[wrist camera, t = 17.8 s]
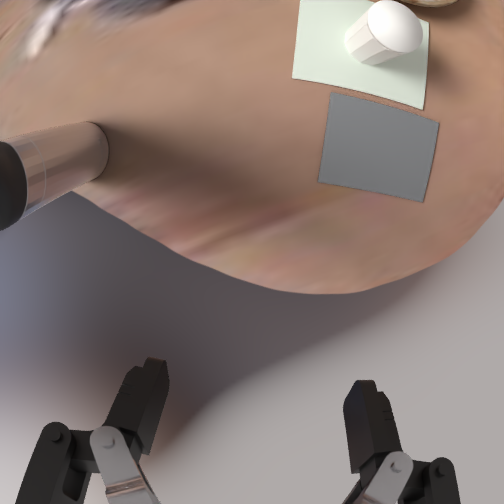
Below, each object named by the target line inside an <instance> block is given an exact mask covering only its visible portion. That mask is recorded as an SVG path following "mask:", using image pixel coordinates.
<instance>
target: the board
mask: <svg viewBox="0 0 504 504" xmlns="http://www.w3.org/2000/svg"><path fill="white" fill-rule="evenodd" d="M373 4H374V2H371V1H367V0H300V8H299V18H298V28H297V37H296V47H295V56H294V65H293V74H292V79H299V80H306V81H312V82H318V83H323V84H328V85H333V86H338V87H343V88H347V89H352V90H356V91H360V92H364V93H368V94H372V95H376V96H379V97H383V98H386V99H390V100H393V101H396V102H400V103H403V104H406V105H409V106H412V107H415V108H418V109H421V110H423V104H424V95H425V86H426V75H427V61H428V39H429V23H428V22H426V21H423V20H421V19H419V18H418V20H419V21H420V23H421V26H422V29H423V40H422V43H421V45H420V46H419V47H418V48H417V49H416V50H414V51H413V52H410V53H407V54H405V55H402V56H399V57H396V58H394V59H391V60H388V61H386V62H383V63H380V64H376V65H372V66H371V65H367V64H364V63H360V62H359V61H357V60H356V59H355V58H354V57H352V56H351V55H350V54H349V52H348V50H347V48H346V46H345V33H346V32H347V31H348V30H349V28H350V27H351V26H352V25H353V24H354V23H355V22H356V21H357V20H358V19H359V18H360V17H361V16H362V15H363V14H364V13H365V12H366V11H367V10H368V9H369V8H370V7H371V6H372V5H373Z"/></svg>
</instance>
